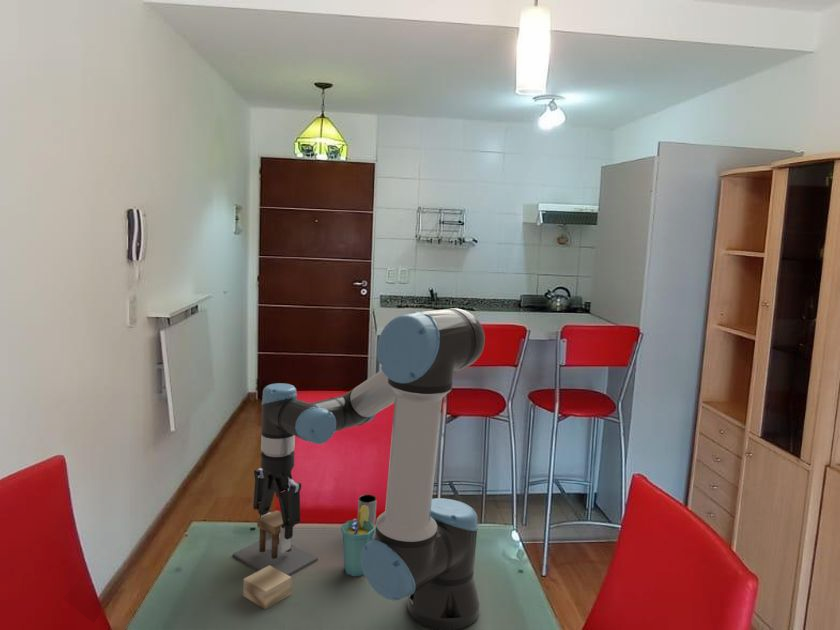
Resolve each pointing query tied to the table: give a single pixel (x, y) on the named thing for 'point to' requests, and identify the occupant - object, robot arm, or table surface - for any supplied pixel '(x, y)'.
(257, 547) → the mat
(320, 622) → the table surface
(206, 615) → the table surface
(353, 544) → the cup
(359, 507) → the grey hollow cylinder
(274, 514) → the stool
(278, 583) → the oak block
